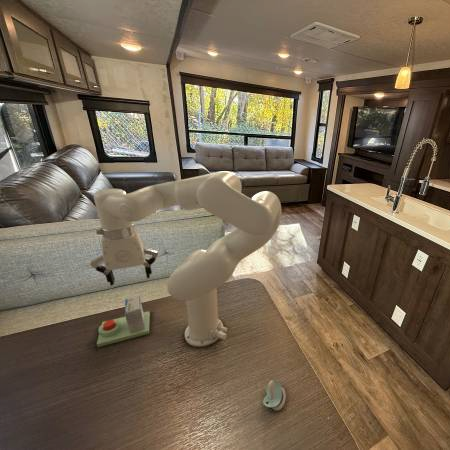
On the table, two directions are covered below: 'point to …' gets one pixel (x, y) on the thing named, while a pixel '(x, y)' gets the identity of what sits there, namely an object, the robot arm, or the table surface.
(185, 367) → the table surface
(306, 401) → the table surface
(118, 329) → the green button pad
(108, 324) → the tare button
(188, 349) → the table surface
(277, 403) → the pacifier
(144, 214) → the robot arm
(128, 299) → the medicine box
